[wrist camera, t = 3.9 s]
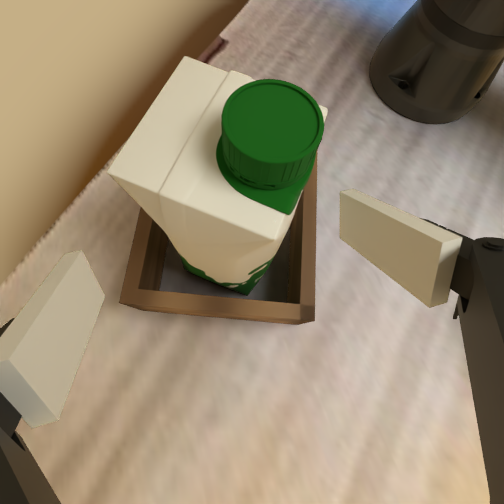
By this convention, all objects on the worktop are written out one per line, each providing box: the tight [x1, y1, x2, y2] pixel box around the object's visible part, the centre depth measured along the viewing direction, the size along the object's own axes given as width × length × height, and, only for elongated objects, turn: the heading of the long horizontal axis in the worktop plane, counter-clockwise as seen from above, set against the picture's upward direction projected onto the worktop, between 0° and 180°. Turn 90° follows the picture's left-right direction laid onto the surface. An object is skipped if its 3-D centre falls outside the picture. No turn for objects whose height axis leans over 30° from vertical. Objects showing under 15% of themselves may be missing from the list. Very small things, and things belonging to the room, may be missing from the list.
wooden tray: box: [119, 151, 317, 325], centre depth 27 cm, size 15×17×6 cm
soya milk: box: [107, 56, 328, 295], centre depth 20 cm, size 9×9×20 cm
